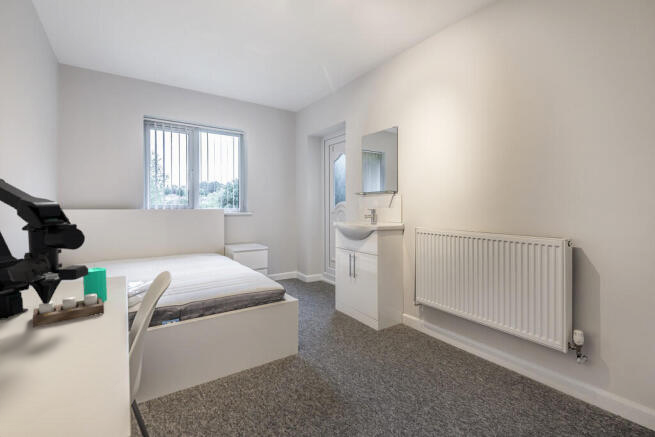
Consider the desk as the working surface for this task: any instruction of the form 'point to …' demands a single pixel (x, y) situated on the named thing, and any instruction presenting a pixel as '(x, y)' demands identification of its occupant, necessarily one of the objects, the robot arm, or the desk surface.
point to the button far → (90, 299)
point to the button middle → (69, 303)
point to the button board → (67, 313)
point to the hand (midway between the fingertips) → (46, 303)
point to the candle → (96, 283)
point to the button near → (46, 307)
